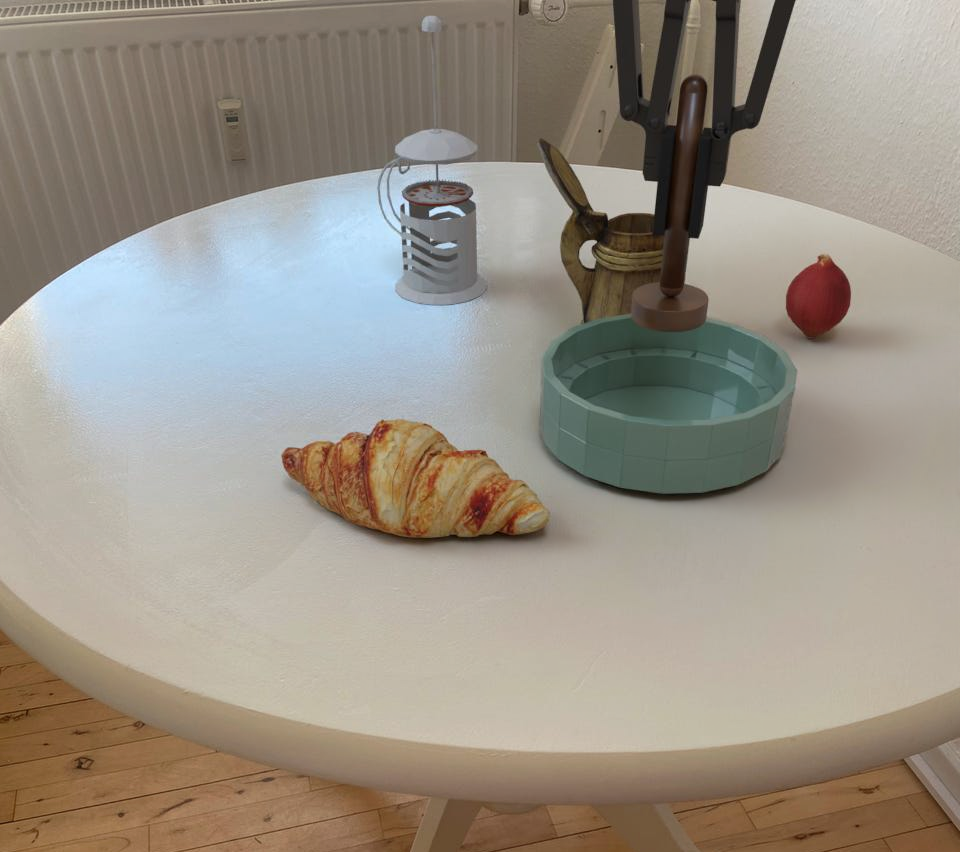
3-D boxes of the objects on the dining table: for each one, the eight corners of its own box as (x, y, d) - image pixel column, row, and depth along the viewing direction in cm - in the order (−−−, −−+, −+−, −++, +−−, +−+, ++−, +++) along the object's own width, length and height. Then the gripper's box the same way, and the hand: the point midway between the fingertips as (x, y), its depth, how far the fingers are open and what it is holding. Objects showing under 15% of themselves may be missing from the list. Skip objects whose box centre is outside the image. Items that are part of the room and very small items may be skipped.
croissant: (556, 554, 80) (576, 449, 78) (524, 570, 71) (545, 451, 69) (305, 500, 86) (317, 400, 84) (243, 509, 76) (256, 396, 74)
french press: (457, 312, 107) (449, 30, 91) (362, 290, 111) (339, 18, 95) (504, 279, 113) (505, 10, 97) (412, 260, 118) (399, 0, 101)
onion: (809, 319, 105) (826, 237, 99) (854, 340, 101) (874, 256, 96) (767, 333, 102) (781, 250, 97) (811, 355, 98) (829, 270, 93)
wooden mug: (537, 318, 105) (542, 123, 94) (675, 325, 104) (697, 127, 92) (528, 357, 99) (532, 152, 87) (674, 365, 97) (698, 157, 85)
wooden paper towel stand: (710, 306, 81) (743, 67, 70) (701, 336, 77) (735, 87, 66) (637, 298, 82) (658, 62, 71) (624, 328, 78) (645, 82, 67)
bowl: (789, 397, 92) (803, 326, 88) (772, 519, 78) (787, 440, 74) (568, 371, 96) (572, 302, 92) (514, 481, 82) (515, 406, 78)
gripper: (583, -189, 59) (564, 238, 74) (860, -187, 56) (781, 258, 71) (608, -195, 64) (585, 204, 80) (861, -194, 61) (787, 221, 76)
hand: (677, 229), depth 75 cm, fingers closed on wooden paper towel stand, 2 cm apart
